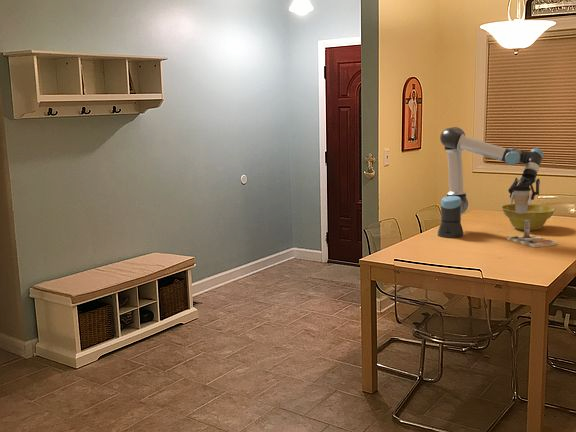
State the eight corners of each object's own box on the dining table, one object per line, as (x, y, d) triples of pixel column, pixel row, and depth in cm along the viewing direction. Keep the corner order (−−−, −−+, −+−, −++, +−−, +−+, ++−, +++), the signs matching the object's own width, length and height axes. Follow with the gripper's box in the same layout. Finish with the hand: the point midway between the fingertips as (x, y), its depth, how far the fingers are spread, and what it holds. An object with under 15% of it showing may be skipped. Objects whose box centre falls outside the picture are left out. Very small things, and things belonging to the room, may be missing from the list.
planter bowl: (563, 233, 379) (564, 211, 377) (509, 234, 380) (510, 212, 377) (543, 223, 411) (544, 203, 408) (493, 224, 411) (494, 204, 409)
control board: (507, 239, 365) (508, 220, 363) (529, 237, 370) (530, 218, 368) (534, 247, 344) (535, 227, 342) (557, 244, 350) (558, 224, 347)
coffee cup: (511, 213, 351) (511, 187, 349) (513, 211, 359) (514, 185, 357) (529, 214, 347) (529, 187, 344) (531, 211, 355) (532, 185, 352)
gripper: (551, 176, 354) (541, 208, 345) (513, 175, 368) (502, 205, 359) (548, 168, 349) (538, 200, 340) (509, 167, 363) (498, 198, 354)
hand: (519, 203), depth 350 cm, fingers closed on coffee cup, 9 cm apart
